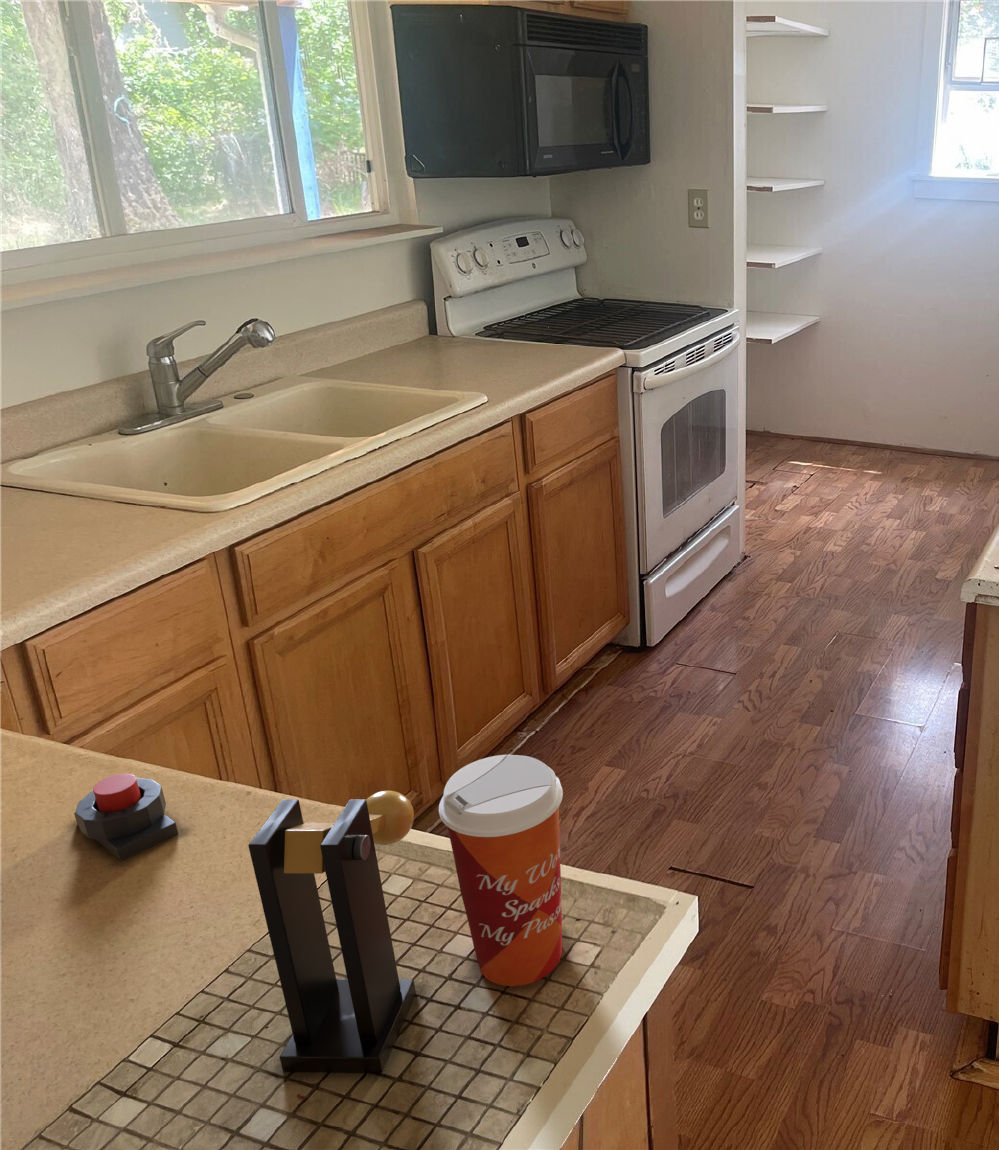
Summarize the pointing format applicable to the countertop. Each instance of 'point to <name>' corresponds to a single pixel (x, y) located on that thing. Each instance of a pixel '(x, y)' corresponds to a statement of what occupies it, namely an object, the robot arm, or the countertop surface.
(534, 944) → the paper cup
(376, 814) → the lever
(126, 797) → the set button
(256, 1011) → the countertop surface
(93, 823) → the button base
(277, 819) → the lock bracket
